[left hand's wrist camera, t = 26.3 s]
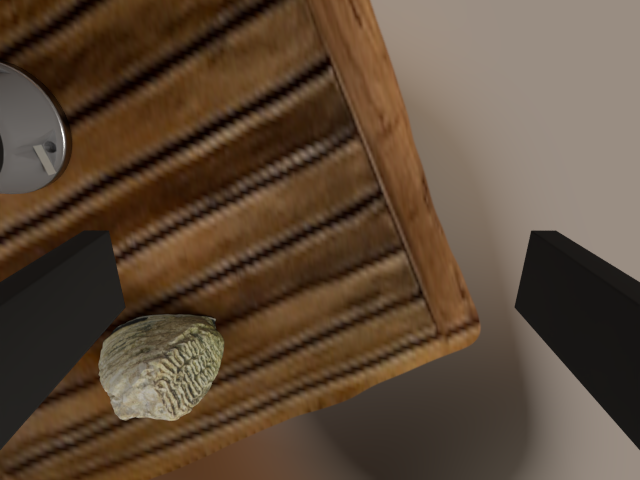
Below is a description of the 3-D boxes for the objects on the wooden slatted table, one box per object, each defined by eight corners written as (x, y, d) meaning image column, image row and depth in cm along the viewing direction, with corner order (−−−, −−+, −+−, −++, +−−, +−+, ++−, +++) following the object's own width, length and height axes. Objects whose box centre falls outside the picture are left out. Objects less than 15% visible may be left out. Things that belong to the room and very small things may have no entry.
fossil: (240, 339, 58) (215, 419, 44) (132, 372, 60) (75, 459, 46) (214, 290, 55) (178, 360, 41) (101, 327, 57) (31, 405, 43)
